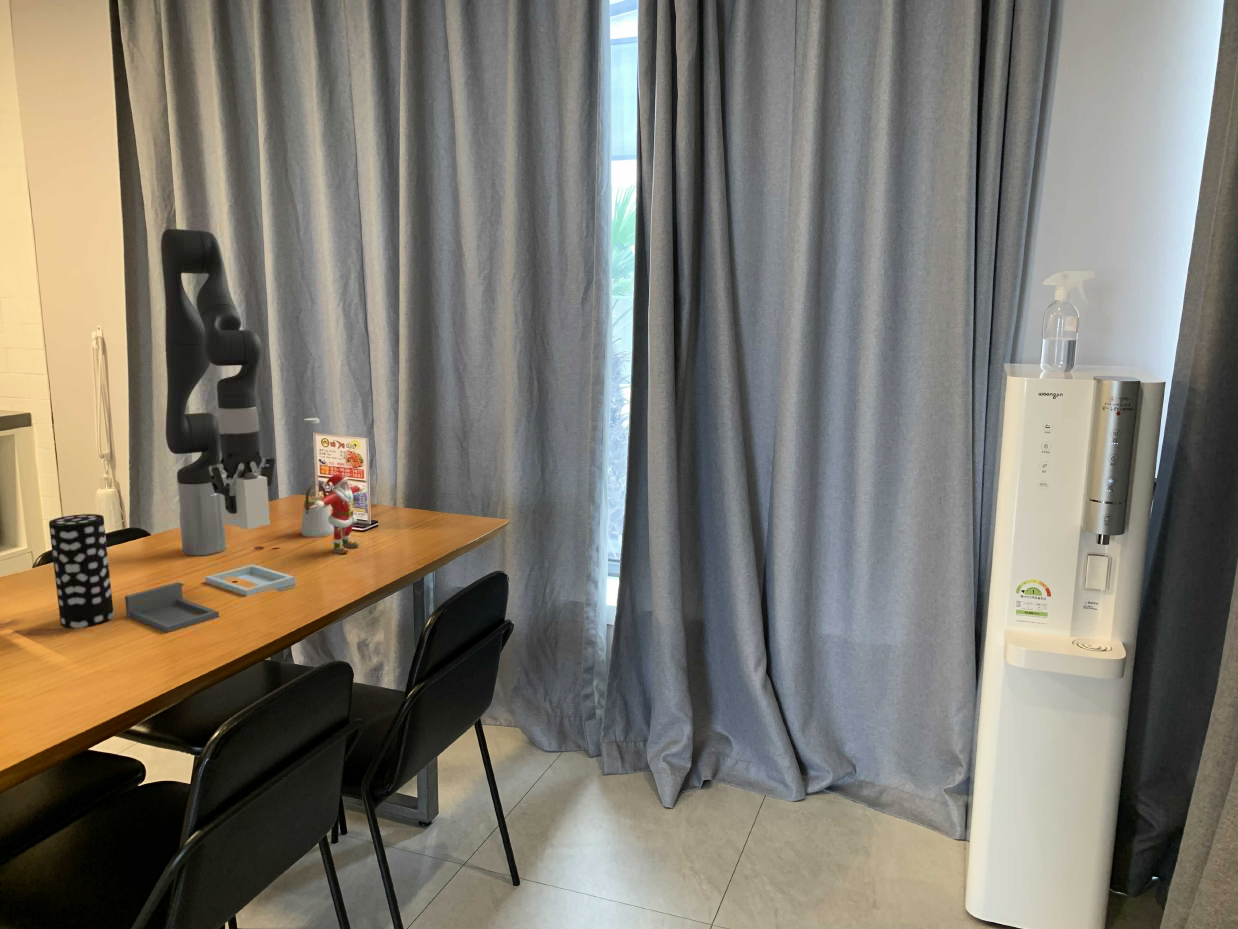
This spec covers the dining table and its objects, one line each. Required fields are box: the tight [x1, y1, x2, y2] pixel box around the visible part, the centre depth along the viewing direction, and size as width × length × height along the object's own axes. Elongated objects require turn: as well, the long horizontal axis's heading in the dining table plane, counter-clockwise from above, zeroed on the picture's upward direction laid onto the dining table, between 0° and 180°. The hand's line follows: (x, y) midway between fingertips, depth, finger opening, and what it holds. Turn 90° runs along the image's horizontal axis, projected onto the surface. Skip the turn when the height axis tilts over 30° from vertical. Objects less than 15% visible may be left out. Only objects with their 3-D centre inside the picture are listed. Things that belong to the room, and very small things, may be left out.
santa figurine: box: [310, 473, 366, 555], centre depth 203 cm, size 25×6×19 cm, turn 169°
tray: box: [204, 563, 296, 597], centre depth 177 cm, size 15×11×2 cm
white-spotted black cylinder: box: [48, 513, 115, 629], centre depth 153 cm, size 8×8×20 cm
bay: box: [124, 581, 220, 634], centre depth 156 cm, size 14×10×5 cm
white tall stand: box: [300, 417, 334, 538], centre depth 217 cm, size 8×8×30 cm
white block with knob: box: [220, 472, 271, 530], centre depth 174 cm, size 9×5×11 cm, turn 56°
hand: (245, 510), depth 174 cm, fingers closed on white block with knob, 5 cm apart
